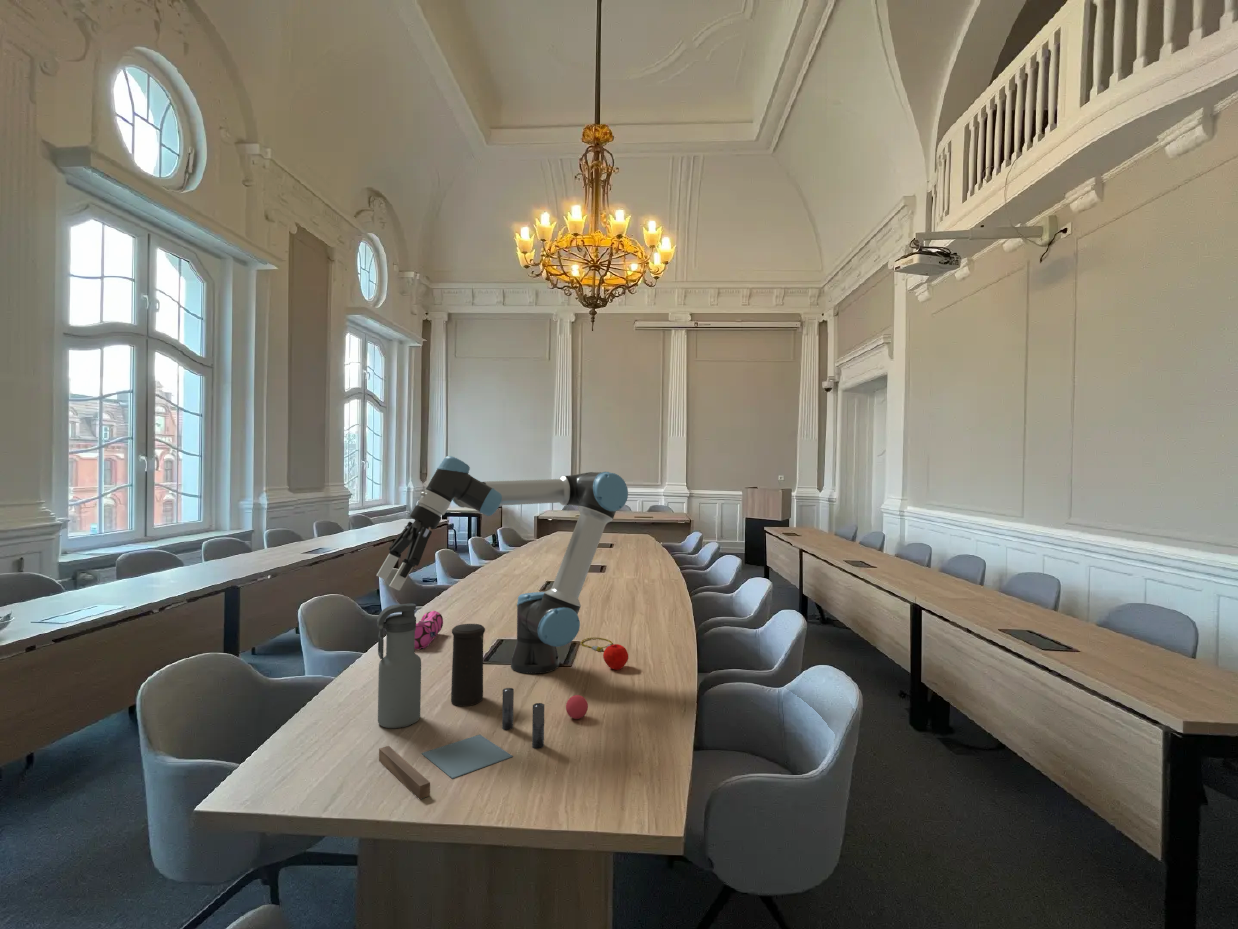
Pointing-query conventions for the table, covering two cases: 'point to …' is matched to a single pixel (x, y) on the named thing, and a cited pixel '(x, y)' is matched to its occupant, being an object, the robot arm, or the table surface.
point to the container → (467, 664)
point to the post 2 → (538, 726)
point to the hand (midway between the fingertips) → (387, 583)
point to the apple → (615, 656)
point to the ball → (576, 706)
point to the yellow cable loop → (596, 646)
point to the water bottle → (398, 668)
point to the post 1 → (507, 708)
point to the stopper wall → (404, 772)
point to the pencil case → (427, 629)
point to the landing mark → (466, 756)
